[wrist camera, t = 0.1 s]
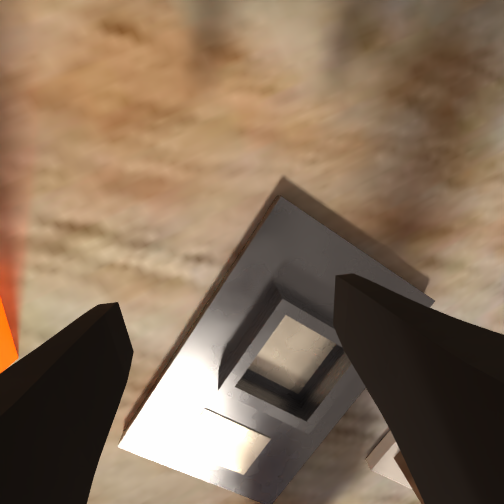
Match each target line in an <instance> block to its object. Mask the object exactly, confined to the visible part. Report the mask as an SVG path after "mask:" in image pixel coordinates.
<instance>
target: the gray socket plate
mask: <svg viewBox="0 0 504 504" xmlns="http://www.w3.org/2000/svg"><path fill="white" fill-rule="evenodd" d="M351 273H354V274H356V275H359V276H361V277H364V278H366V279H368V280H370V281H372V282H375V283H377V284H379V285H381V286H383V287H385V288H387V289H389V290H391V291H394V292H396V293H398V294H400V295H402V296H404V297H406V298H409V299H411V300H413V301H415V302H418V303H420V304H422V305H424V306H427V307H429V308H430V307H431V305H432V304H433V303H434V302H435V300H433V299H432V298H430V297H429V296H427V295H426V294H424V293H423V292H421V291H420V290H418V289H417V288H415V287H414V286H412V285H411V284H410V283H408V282H407V281H405V280H404V279H402V278H401V277H399V276H398V275H396V274H395V273H393V272H392V271H390V270H389V269H387V268H386V267H385V266H383V265H382V264H380V263H379V262H377V261H376V260H374V259H373V258H371V257H370V256H368V255H367V254H365V253H364V252H362V251H361V250H359V249H358V248H357V247H355V246H354V245H352V244H351V243H349V242H348V241H346V240H345V239H343V238H342V237H340V236H339V235H337V234H336V233H334V232H333V231H331V230H330V229H329V228H327V227H326V226H324V225H323V224H321V223H320V222H318V221H317V220H315V219H314V218H312V217H311V216H309V215H308V214H306V213H305V212H304V211H302V210H301V209H299V208H298V207H296V206H295V205H293V204H292V203H290V202H289V201H287V200H286V199H284V198H283V197H281V196H277V197H276V199H275V200H274V202H273V203H272V205H271V206H270V208H269V209H268V211H267V212H266V214H265V216H264V217H263V219H262V220H261V222H260V223H259V225H258V226H257V228H256V229H255V231H254V232H253V234H252V235H251V237H250V239H249V240H248V242H247V243H246V245H245V246H244V248H243V249H242V251H241V252H240V254H239V255H238V257H237V259H236V260H235V262H234V263H233V265H232V266H231V268H230V269H229V271H228V272H227V274H226V275H225V277H224V278H223V280H222V282H221V283H220V285H219V286H218V288H217V289H216V291H215V292H214V294H213V295H212V297H211V298H210V300H209V301H208V303H207V305H206V306H205V308H204V309H203V311H202V312H201V314H200V315H199V317H198V318H197V320H196V321H195V323H194V325H193V326H192V328H191V329H190V331H189V332H188V334H187V335H186V337H185V338H184V340H183V341H182V343H181V344H180V346H179V348H178V349H177V351H176V352H175V354H174V355H173V357H172V358H171V360H170V361H169V363H168V364H167V366H166V367H165V369H164V371H163V372H162V374H161V375H160V377H159V378H158V380H157V381H156V383H155V384H154V386H153V387H152V389H151V391H150V392H149V394H148V395H147V397H146V398H145V400H144V401H143V403H142V404H141V406H140V407H139V409H138V410H137V412H136V414H135V415H134V417H133V418H132V420H131V421H130V423H129V424H128V426H127V427H126V429H125V430H124V432H123V434H122V436H121V439H120V441H119V444H118V446H117V447H119V448H122V449H124V450H127V451H129V452H132V453H135V454H137V455H140V456H142V457H145V458H147V459H150V460H153V461H155V462H158V463H160V464H163V465H165V466H168V467H171V468H173V469H176V470H178V471H181V472H183V473H186V474H189V475H191V476H194V477H196V478H199V479H201V480H204V481H206V482H209V483H212V484H214V485H217V486H219V487H222V488H224V489H227V490H230V491H232V492H235V493H237V494H240V495H242V496H245V497H248V498H250V499H253V500H255V501H258V502H260V503H263V504H272V503H273V502H274V501H275V500H276V498H277V497H278V496H279V495H280V493H281V492H282V491H283V490H284V488H285V487H286V486H287V485H288V484H289V482H290V481H291V480H292V479H293V477H294V476H295V475H296V474H297V472H298V471H299V470H300V469H301V467H302V466H303V465H304V464H305V462H306V461H307V460H308V459H309V457H310V456H311V455H312V454H313V452H314V451H315V450H316V449H317V447H318V446H319V445H320V444H321V442H322V441H323V440H324V439H325V437H326V436H327V435H328V434H329V432H330V431H331V430H332V429H333V427H334V426H335V425H336V424H337V422H338V421H339V420H340V419H341V418H342V416H343V415H344V414H345V413H346V411H347V410H348V409H349V408H350V406H351V405H352V404H353V403H354V401H355V400H356V399H357V398H358V396H359V395H360V394H361V393H362V391H363V390H364V389H365V388H366V387H365V385H364V383H363V382H362V380H361V378H360V377H359V375H358V373H357V372H356V370H355V368H354V367H353V365H352V363H351V361H350V360H349V358H348V356H347V355H346V353H345V351H344V349H343V347H342V345H341V342H340V340H339V338H338V336H337V333H336V331H335V328H334V326H333V312H334V293H335V275H343V274H351Z"/></svg>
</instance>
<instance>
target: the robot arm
mask: <svg viewBox="0 0 504 504" xmlns="http://www.w3.org/2000/svg"><path fill="white" fill-rule="evenodd" d="M333 326H334V328H335V331H336V333H337V336H338V338H339V340H340V342H341V345H342V347H343V349H344V351H345V353H346V355H347V356H348V358H349V360H350V361H351V363H352V365H353V367H354V368H355V370H356V372H357V373H358V375H359V377H360V378H361V380H362V382H363V383H364V385H365V387H366V388H367V390H368V392H369V393H370V395H371V397H372V398H373V400H374V402H375V403H376V405H377V407H378V408H379V410H380V412H381V414H382V415H383V417H384V419H385V421H386V423H387V425H388V426H389V428H390V430H391V433H392V435H393V437H394V439H395V441H396V443H397V445H398V447H399V449H400V451H401V453H402V456H403V458H404V460H405V462H406V464H407V466H408V468H409V471H410V473H411V475H412V477H413V479H414V482H415V484H416V486H417V488H418V490H419V493H420V495H421V497H422V499H423V501H424V504H504V335H503V334H500V333H497V332H493V331H490V330H488V329H485V328H482V327H479V326H476V325H473V324H470V323H467V322H464V321H462V320H459V319H456V318H454V317H451V316H449V315H446V314H444V313H441V312H439V311H436V310H434V309H432V308H429V307H427V306H424V305H422V304H420V303H418V302H415V301H413V300H411V299H409V298H406V297H404V296H402V295H400V294H398V293H396V292H394V291H391V290H389V289H387V288H385V287H383V286H381V285H379V284H377V283H375V282H372V281H370V280H368V279H366V278H364V277H361V276H359V275H356V274H354V273H351V274H343V275H335V293H334V312H333ZM133 352H134V351H133V348H132V345H131V342H130V338H129V335H128V332H127V329H126V326H125V323H124V319H123V316H122V313H121V310H120V307H119V303H118V302H115V303H107V304H99V305H97V306H95V307H94V308H92V309H90V310H89V311H88V312H86V313H85V314H83V315H82V316H80V317H79V318H78V319H76V320H75V321H73V322H72V323H71V324H69V325H68V326H67V327H65V328H64V329H63V330H61V331H60V332H58V333H57V334H56V335H54V336H53V337H52V338H50V339H49V340H47V341H46V342H45V343H43V344H42V345H41V346H39V347H38V348H36V349H35V350H33V351H32V352H31V353H29V354H28V355H26V356H25V357H23V358H22V359H20V360H19V361H17V362H16V363H14V364H13V365H12V366H10V367H9V368H7V369H6V370H4V371H3V372H1V373H0V504H87V501H88V497H89V493H90V489H91V485H92V482H93V478H94V474H95V471H96V468H97V465H98V462H99V459H100V456H101V453H102V450H103V447H104V445H105V442H106V439H107V436H108V434H109V431H110V428H111V425H112V423H113V420H114V417H115V414H116V412H117V409H118V406H119V403H120V400H121V398H122V395H123V392H124V389H125V386H126V383H127V380H128V376H129V371H130V367H131V362H132V357H133Z"/></svg>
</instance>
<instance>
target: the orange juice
mask: <svg viewBox="0 0 504 504" xmlns="http://www.w3.org/2000/svg"><path fill="white" fill-rule="evenodd" d="M17 359H18V355H17V352H16V349H15V345H14V342H13V338H12V335H11V332H10V328H9V325H8V321H7V318H6V315H5V311H4V308H3V304H2V301H1V298H0V373H1V372H3V371H4V370H5V369H6V368H7V367H9V366H10V365H11V364H12V363H13V362H14V361H15V360H17Z"/></svg>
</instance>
